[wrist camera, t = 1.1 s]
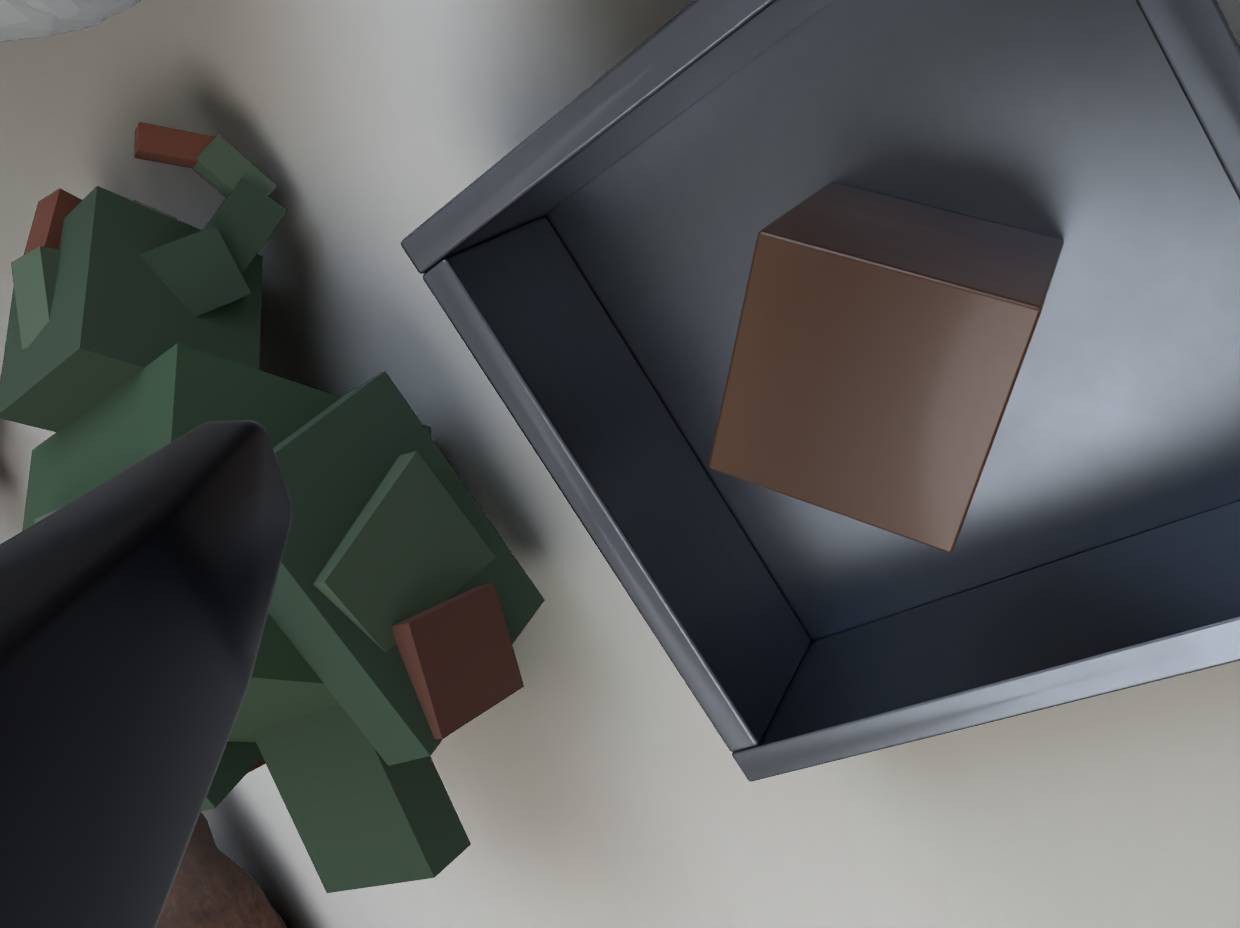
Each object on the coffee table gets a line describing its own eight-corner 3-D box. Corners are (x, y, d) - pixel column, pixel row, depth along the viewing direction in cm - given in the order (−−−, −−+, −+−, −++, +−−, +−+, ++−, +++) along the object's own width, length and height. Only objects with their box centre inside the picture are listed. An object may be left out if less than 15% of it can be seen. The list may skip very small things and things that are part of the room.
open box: (1442, 459, 18) (1518, 592, 14) (809, 660, 25) (749, 783, 21) (1084, -242, 16) (1061, -302, 12) (518, 197, 23) (397, 242, 20)
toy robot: (587, 218, 29) (191, -16, 20) (557, 918, 24) (14, 988, 15) (346, 321, 36) (-18, 180, 28) (284, 872, 31) (-183, 902, 23)
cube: (1065, 239, 18) (1043, 307, 15) (987, 451, 21) (951, 555, 17) (830, 180, 20) (757, 230, 16) (780, 385, 22) (707, 468, 18)
